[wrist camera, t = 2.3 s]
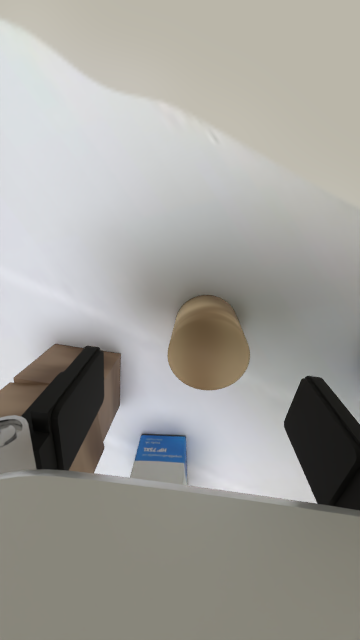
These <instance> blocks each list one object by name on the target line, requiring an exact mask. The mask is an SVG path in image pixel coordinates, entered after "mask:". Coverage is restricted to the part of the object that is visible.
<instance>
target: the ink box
mask: <svg viewBox="0 0 360 640" xmlns="http://www.w3.org/2000/svg"><path fill="white" fill-rule="evenodd" d="M130 478H135V479H142V480H150V481H158V482H165V483H173V484H180V485H187V459H186V437H181V436H153V435H142V436H141V438H140V442H139V446H138V449H137V454H136V457H135V461H134V464H133V468H132V472H131V476H130Z"/></svg>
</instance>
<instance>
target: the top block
mask: <svg viewBox="0 0 360 640" xmlns="http://www.w3.org/2000/svg"><path fill="white" fill-rule="evenodd" d="M48 385H49V384H33V383H9V384H8V385H6V386H5V387H4V388H3V389H1V390H0V418H1V417H5V416H12V415H17V416H21V415H22V414H23V413H24V412H25V411H26V410H27V409H28V408H29V406H30V405H31V404H32V403H33V402H34V401H35V400H36V399H37V398H38V396H39V395H40V394H41V393H42V392H43V391H44V390H45V389H46V387H47V386H48ZM103 450H104V443H103V438H102V434H101V429H100V424H99V419H98V414H97V416H96V418H95V419H94V421H93V423H92V425H91V427H90V429H89V431H88V433H87V435H86V437H85V439H84V441H83V443H82V445H81V447H80V449H79V451H78V453H77V455H76V457H75V459H74V461H73V463H72V465H71V467H70V469H69V471H77V472H86V473H94V471H95V469H96V467H97V464H98V462H99V460H100V457H101V455H102V453H103Z"/></svg>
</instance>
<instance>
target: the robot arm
mask: <svg viewBox="0 0 360 640" xmlns="http://www.w3.org/2000/svg"><path fill="white" fill-rule="evenodd" d="M103 401H104V352H103V351H100V348H99V347H92V346H86V347H85V348H84V349H83V350H82V351H81V353H80V354H79V355H78V356H77V357H76V358H75V359H74V361H73V362H72V363H71V364H70V365H69V366H68V368H67V369H66V370H65V371H63V372H60V373H59V374H58V375H57V376H56V377H55V378H54V380H53V381H52V382H51V383H50V384H49V385H48V386H47V387H46V389H45V390H44V391H43V392H42V393H41V394H40V395H39V396H38V398H37V399H36V400H35V401H34V402H33V403H32V404H31V405H30V406H29V408H28V409H27V410H26V411H25V412H24V413H23V414H22V415H21V416H17V415H12V416H5V417H1V418H0V640H360V424H359V423H358V422H357V421H356V419H355V418H354V417H353V416H352V414H351V413H350V412H349V411H348V409H347V408H346V407H345V406H344V405H343V403H342V402H341V401H340V400H339V398H338V397H337V396H336V395H335V393H334V392H333V391H332V390H331V389H330V387H329V386H328V385H327V384H326V382H325V381H324V380H323V379H322V378H320V377H312V376H307V377H305V379H302V380H301V382H300V384H299V387H298V389H297V391H296V394H295V396H294V399H293V401H292V403H291V406H290V408H289V411H288V413H287V415H286V418H285V421H284V427H285V430H286V432H287V435H288V437H289V439H290V442H291V444H292V446H293V448H294V451H295V453H296V455H297V458H298V460H299V462H300V464H301V467H302V469H303V471H304V474H305V476H306V478H307V481H308V483H309V485H310V487H311V490H312V492H313V494H314V497H315V499H316V501H317V503H318V504H315V503H308V502H301V501H294V500H287V499H281V498H274V497H267V496H260V495H252V494H245V493H238V492H231V491H224V490H217V489H209V488H202V487H195V486H188V485H180V484H173V483H165V482H158V481H150V480H142V479H135V478H127V477H120V476H112V475H103V474H94V473H86V472H77V471H69V469H70V467H71V465H72V463H73V461H74V459H75V457H76V455H77V453H78V451H79V449H80V447H81V445H82V443H83V441H84V439H85V437H86V435H87V433H88V431H89V429H90V427H91V425H92V423H93V421H94V419H95V418H96V416H97V414H98V412H99V410H100V408H101V406H102V404H103Z"/></svg>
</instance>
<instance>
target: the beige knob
mask: <svg viewBox="0 0 360 640" xmlns="http://www.w3.org/2000/svg"><path fill="white" fill-rule="evenodd" d="M249 360H250V350H249V346H248V343H247V341H246V338H245V336H244V333H243V331H242V328H241V326H240V323H239V321H238V318H237V316H236V313H235V311H234V309H233V308H232V307H231V305H230V304H229V303H227V302H226V301H225V300H223V299H221V298H219V297H216V296H212V295H202V296H197V297H194V298H192V299H190V300H189V301H187V302H186V303H185V304H184V305H183V306H182V307H181V308H180V310H179V312H178V314H177V317H176V321H175V324H174V328H173V332H172V336H171V340H170V344H169V348H168V362H169V365H170V368H171V370H172V371H173V373H174V374H175V376H176V377H177V378H178V379H179V380H181V381H182V382H183V383H185V384H186V385H188V386H191V387H193V388H196V389H201V390H217V389H222V388H225V387H227V386H229V385H231V384H233V383H235V382H236V381H237V380H238V379H239V378H240V377H241V376H242V375H243V374H244V372H245V371H246V369H247V367H248V364H249Z"/></svg>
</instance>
